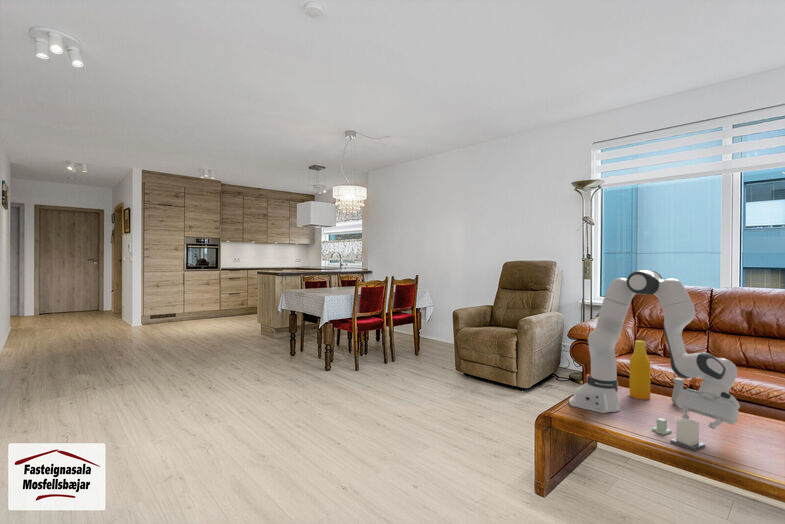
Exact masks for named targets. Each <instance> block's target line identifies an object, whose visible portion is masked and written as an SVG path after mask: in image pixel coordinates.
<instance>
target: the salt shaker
mask: <svg viewBox="0 0 785 524" xmlns="http://www.w3.org/2000/svg"><path fill="white" fill-rule="evenodd" d="M673 383H674V386H673V390H672V395H671V402H672V403H673V405H674V406H677V404H676V399H677V398H678V396H679V395H680V394H681V392H682V390H683V389H684V383H685V380H684V378H681V377H674V378H673ZM677 407H678V406H677Z"/></svg>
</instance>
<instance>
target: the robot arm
mask: <svg viewBox="0 0 785 524" xmlns="http://www.w3.org/2000/svg"><path fill="white" fill-rule="evenodd" d="M635 295H654V296H655V297H656V298H657V299H658V301H659V304H660V306H661V309H662V311H663V316H664V321H663V323H662V325H663V326H662V327H663V331H664V336H665V339H666V343H667V347H668V348H667V349H668V351H669V356H670V359H669V360H670V367H671V370H672V371H673V372H674V374H675V375H676V376H677V377H678V378H681V379H686V380H687V379H691V378H692V379H693V378H701V379H702V380H703V381H702V383H701V385H700V386H699V388H698V390H696V389H691V388H689V387H688V388H685V389H684V388H683V390H682V392H681V394H680V395H679V396H678V398H677V399H676V404H677V407H678V408H679V409H682V412H683V414H682V416H681V417H682V418H686V419H689V420H690V416H689V412H691V413H694V414H697V415H701V416H704V417H707V418H710V419H714V420H715V421H713V422H711V421H710V422H709V424H708V427H709V428H710V429H712V430H716V428H717V427H718V426H720V425H722V424H723V423H726V424H728V425H734V424H736V423H737V420H738V418H739V412H740V411H739V409H740V408H741V405H740V404H739V401H738V400H737V398H736V397H735V396H734V395H732V394H731V393H729V392H730V389H731V388H733V385H734V384H735V381H736V379H737V374H738V367H737V366H736V364H735V363H733V361H731V360H730V359H727V358H724V357H716V356H714V355H713V354H712V353H709V352H694V353H688V352H687V351H686V350H687V349H686V346H685V343H684V340H683V335H682V334H683V330H684V329H685V327H686V326H687V325H689V324H690V323H691V322H692V321H693V320H694V318H695V316H696V308H695V306H694V304H693V301H692V299H691V297H690V295H689V293H688V291H687V289H686V288H685V286H684V285H683V283H682V282H681V281H680V280H679V279H676V278H666V279H663V277H662V275H661V274H660V273H658V272H657V271H656V270H654V271H653V270H651V269H642V270H640V269H639V270H634V271H633V272H630V274H628V277H627V278H624V277H618V278H617V277H616V278H614V279H612V281H611V283H610V285H609V286H608V288H607V291H606V292H605V296H604V298H603V300H602V303H601V307H600V308H599V309H600V310H599V313H598V318H597V322H596V325H595V328H594V329H593V330H591V331H590V332H589V335H588V337H587V343H588V348H589V349H588V350H589V356H590V374H589V373H588V374H586V375H585V378H586V382H585V383H584V384H582V385H580V386H578V387H577V388H576V389H575V390H574V394H573V395H572V396H571V398H570V397H569V400H568V404H569V405H570V406H571V407H575V408H580V409H584V410H589V411H592V412H597V413H601V414H606V413H615V412H619V411H620V410H621V406H620V403H619V396H618V391H619V390H618V389H619V381H618V378H617V377H618V376H617V375H618V374H617V371H618V370H617V366H618V365H617V364H618V363H617V360H616V352H615V350H616V349H615V346H616V344H617V343H618V342H619V339H620V337H621V333H622V330H623V326H624V322H625V321H626V320H625V319H626V317H627V314H628V311H629V310H630V305H631V303H632V300H633V298H634V297H635ZM682 418H681V419H682Z"/></svg>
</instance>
